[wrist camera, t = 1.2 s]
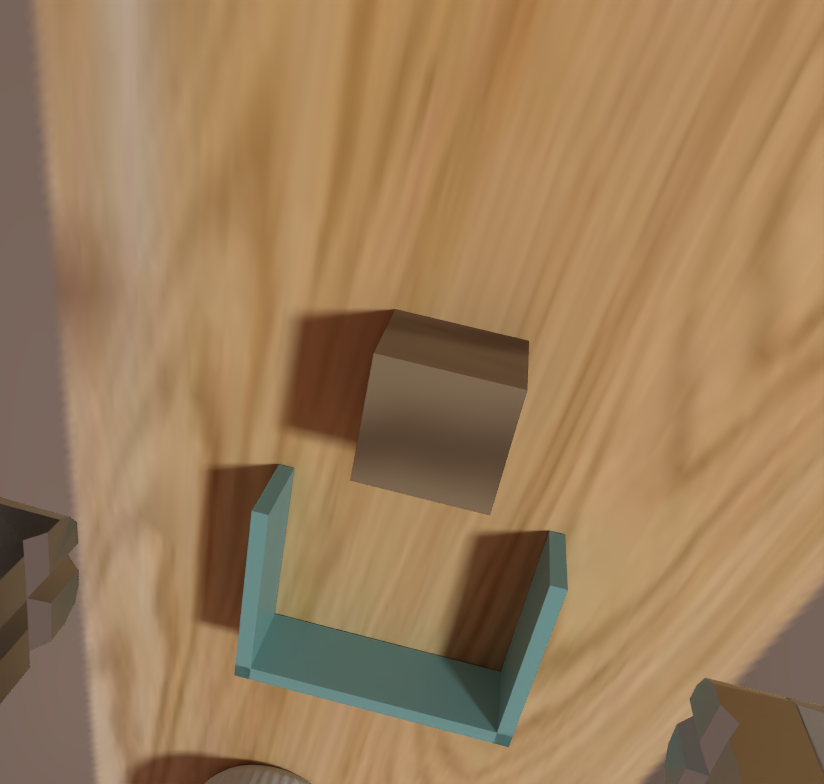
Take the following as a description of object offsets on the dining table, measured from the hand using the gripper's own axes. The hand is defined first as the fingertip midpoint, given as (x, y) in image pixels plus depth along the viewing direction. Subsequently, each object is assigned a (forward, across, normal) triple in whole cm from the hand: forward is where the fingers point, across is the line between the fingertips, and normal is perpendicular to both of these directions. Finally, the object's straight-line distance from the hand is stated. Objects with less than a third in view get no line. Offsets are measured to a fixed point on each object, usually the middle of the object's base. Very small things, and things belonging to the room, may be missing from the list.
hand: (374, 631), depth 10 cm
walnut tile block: (+24, 0, +8) cm, 25 cm away
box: (+24, 0, +19) cm, 31 cm away
